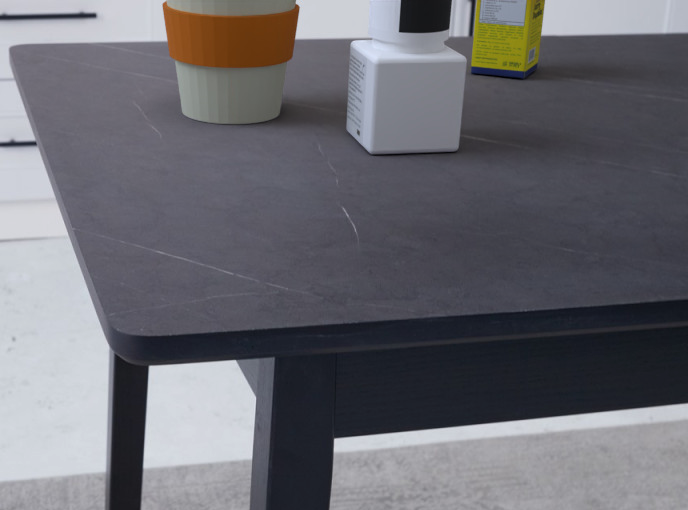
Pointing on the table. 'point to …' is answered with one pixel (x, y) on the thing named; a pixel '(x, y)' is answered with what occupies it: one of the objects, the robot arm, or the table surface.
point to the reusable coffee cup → (231, 56)
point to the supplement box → (507, 37)
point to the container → (406, 80)
